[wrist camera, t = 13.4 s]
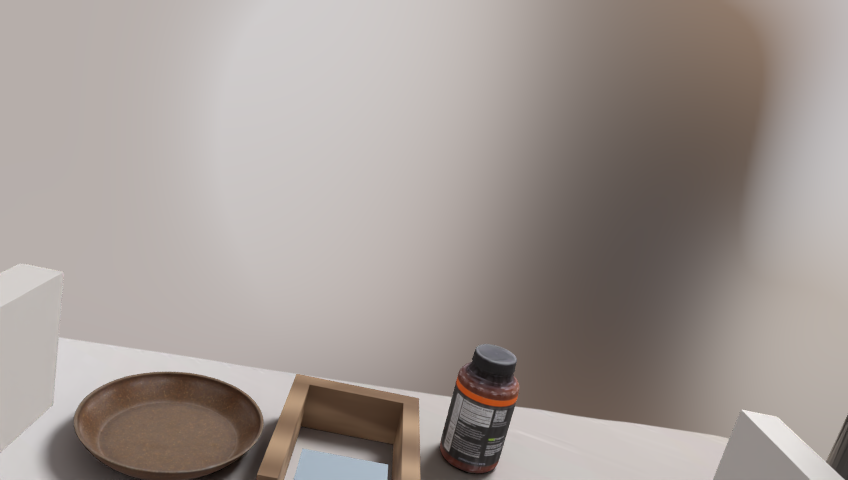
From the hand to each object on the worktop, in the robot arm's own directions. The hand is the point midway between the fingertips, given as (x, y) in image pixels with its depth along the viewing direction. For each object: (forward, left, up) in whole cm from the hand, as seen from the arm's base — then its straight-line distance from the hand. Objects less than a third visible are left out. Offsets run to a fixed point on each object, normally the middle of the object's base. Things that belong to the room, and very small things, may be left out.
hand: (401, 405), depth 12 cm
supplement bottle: (+7, -43, -28) cm, 52 cm away
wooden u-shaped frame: (+15, -32, -28) cm, 44 cm away
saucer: (+29, -27, -28) cm, 48 cm away
